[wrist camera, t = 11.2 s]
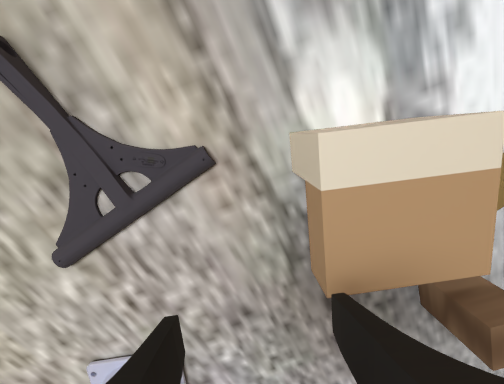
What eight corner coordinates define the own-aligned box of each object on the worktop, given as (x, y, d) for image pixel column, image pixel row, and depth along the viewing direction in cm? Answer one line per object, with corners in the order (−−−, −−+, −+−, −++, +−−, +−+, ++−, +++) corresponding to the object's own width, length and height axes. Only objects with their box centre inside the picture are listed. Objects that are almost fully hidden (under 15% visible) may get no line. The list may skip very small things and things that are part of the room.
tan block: (413, 231, 23) (490, 274, 16) (298, 247, 22) (327, 298, 15) (416, 117, 20) (507, 110, 14) (289, 132, 20) (317, 133, 13)
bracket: (84, -21, 18) (57, -48, 15) (216, 162, 21) (213, 166, 18) (-73, 106, 19) (-125, 101, 16) (76, 260, 22) (53, 278, 19)
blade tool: (457, 293, 24) (543, 356, 18) (420, 304, 24) (492, 370, 18) (444, 159, 21) (542, 171, 15) (403, 170, 21) (482, 188, 15)
